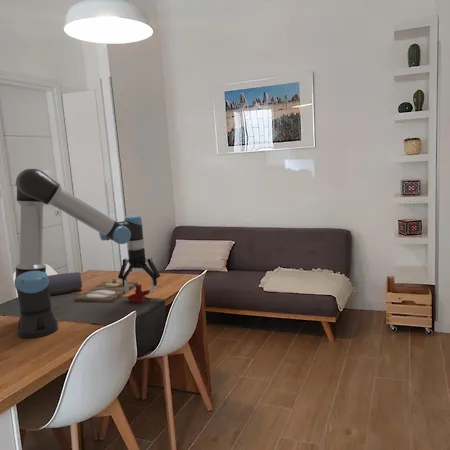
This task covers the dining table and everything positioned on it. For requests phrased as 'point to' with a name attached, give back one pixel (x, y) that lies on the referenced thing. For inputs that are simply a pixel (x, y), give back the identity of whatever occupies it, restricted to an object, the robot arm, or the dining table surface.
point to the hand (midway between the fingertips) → (140, 292)
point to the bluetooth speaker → (64, 282)
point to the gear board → (105, 292)
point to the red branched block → (138, 294)
